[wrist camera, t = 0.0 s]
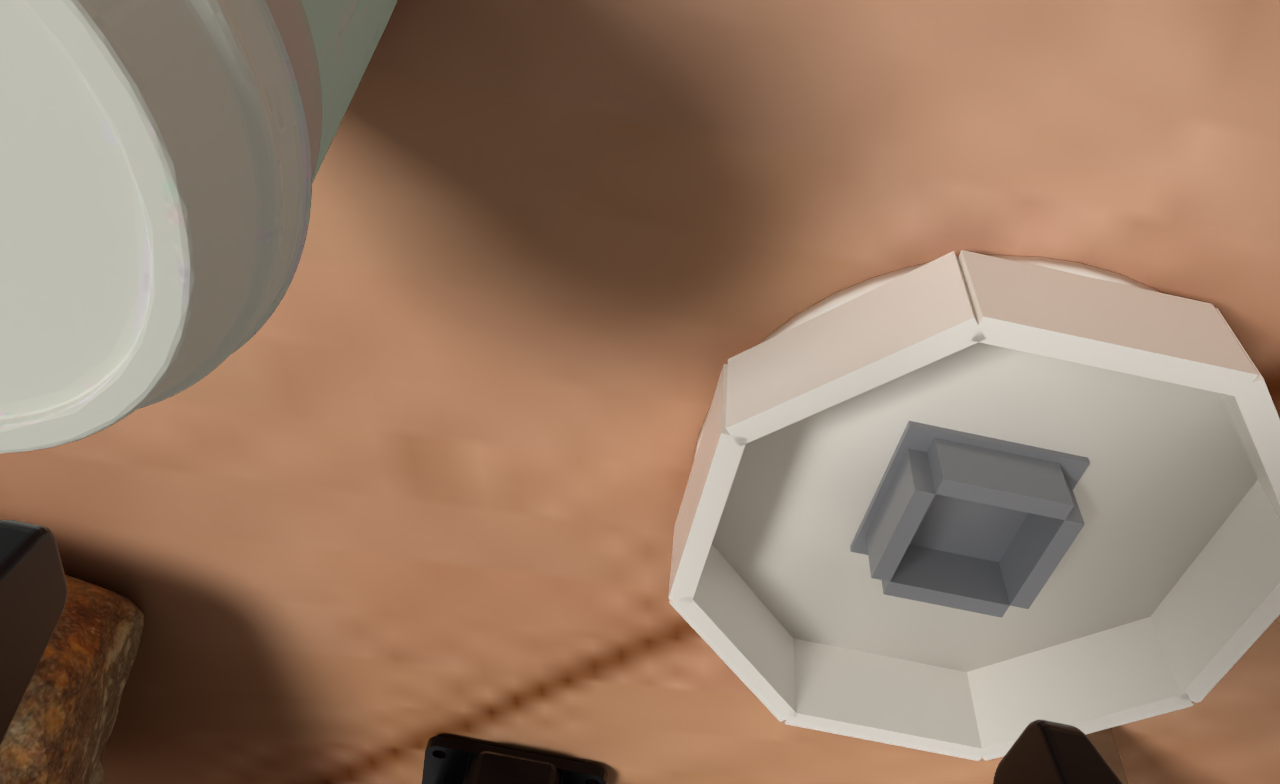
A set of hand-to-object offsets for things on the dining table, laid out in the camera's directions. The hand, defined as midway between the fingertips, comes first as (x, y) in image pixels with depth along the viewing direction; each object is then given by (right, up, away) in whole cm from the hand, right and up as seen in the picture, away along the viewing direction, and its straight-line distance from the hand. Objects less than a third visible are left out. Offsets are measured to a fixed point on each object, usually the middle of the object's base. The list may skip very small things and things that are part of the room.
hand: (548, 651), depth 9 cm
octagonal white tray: (+9, 0, +18) cm, 20 cm away
